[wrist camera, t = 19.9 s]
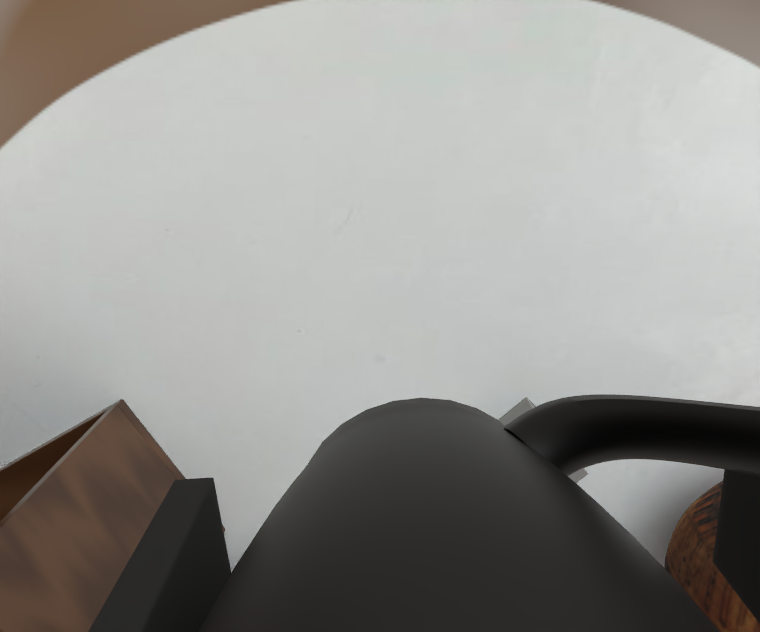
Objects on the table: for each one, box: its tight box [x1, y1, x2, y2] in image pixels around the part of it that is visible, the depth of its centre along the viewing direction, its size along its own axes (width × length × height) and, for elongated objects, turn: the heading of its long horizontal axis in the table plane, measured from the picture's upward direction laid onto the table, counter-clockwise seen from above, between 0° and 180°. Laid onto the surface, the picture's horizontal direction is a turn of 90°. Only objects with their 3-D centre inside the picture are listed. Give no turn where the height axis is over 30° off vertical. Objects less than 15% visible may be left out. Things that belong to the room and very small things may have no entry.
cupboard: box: [0, 400, 225, 632], centre depth 39 cm, size 14×17×20 cm
